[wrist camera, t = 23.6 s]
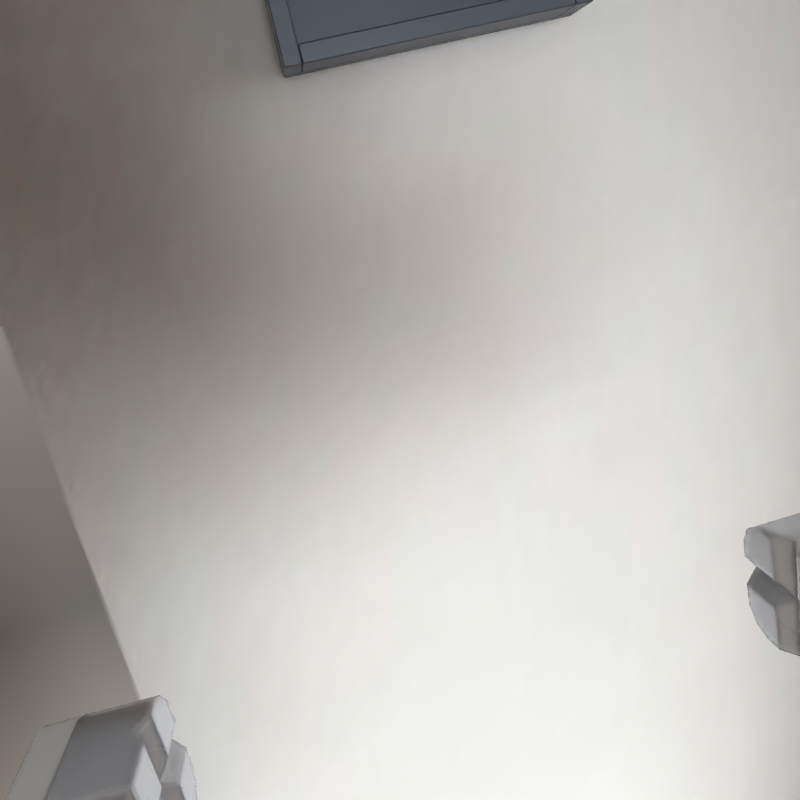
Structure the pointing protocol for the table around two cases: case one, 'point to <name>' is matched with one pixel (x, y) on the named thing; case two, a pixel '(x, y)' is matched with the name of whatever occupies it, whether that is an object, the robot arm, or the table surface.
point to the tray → (391, 26)
